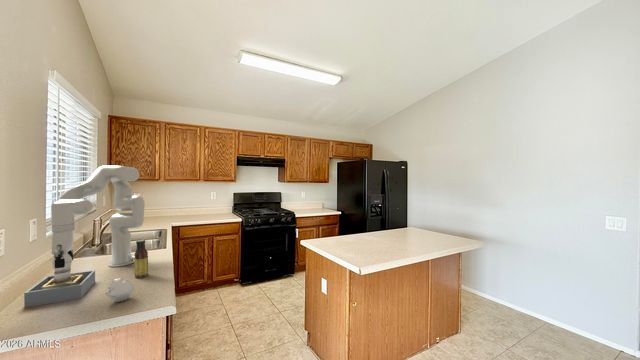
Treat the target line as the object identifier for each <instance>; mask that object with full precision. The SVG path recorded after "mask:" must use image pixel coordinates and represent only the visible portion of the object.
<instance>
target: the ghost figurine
mask: <svg viewBox="0 0 640 360" xmlns="http://www.w3.org/2000/svg"><path fill="white" fill-rule="evenodd" d="M134 287H135V286H134V284H133V282H131V281H130V280H128V279H127V280H126V279H123V278H122V277H120V278H119V277H118V278H115V279H114V280H112V282H111V283H110V284H109V285H108V286H107V289H108V290H107V291H106V292H105V295H106V297H109V298H110V299H111V301H113V302H119V303H120V302H124V301H126V300H128V299H129V298H130V297H131V296H132V294H133V293H134V290H135V288H134Z"/></svg>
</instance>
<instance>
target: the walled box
mask: <svg viewBox="0 0 640 360" xmlns="http://www.w3.org/2000/svg"><path fill="white" fill-rule="evenodd" d="M82 274H83V281H82V282H81V284H79V285H72V286H65V287H58V288H51V289H44V290H41V287H42V286H44V285H45V284H46V283H47V282H49V281H50V280H51V279H53V278H54V275H47V276H45V278H42V279H41V280H40V281H39V282H37V283H36V284H35V285H33V286H32V287H30V288H29V289H28V290H26V291H25V292H23V293H24V295H23V300H24V308H29V307H28V306H30V307H34V306H42V305H48V304H54V303H60V302H64V301H72V300H78V299H82V298H83V297H84V295H86V294H87V292H88V291H89V290H90V289H91V288H92V286H93V285H94V284H95V283H96V270H94V269H93V270H88V271H79V272H71V276H75V275H82Z"/></svg>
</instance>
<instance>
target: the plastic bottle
mask: <svg viewBox="0 0 640 360" xmlns="http://www.w3.org/2000/svg"><path fill="white" fill-rule="evenodd" d="M60 255H61V256H62V254H60ZM64 258H65V267H63V268H55V260H54V258H53V259H52V260H51V265H52V269H53V276H54V283H53V285H56V284H63V283H70V282H72V280H71V273H72V272H71V269H72V268H71V267H72V262H73V260H72V257H71V256H70V255H69V254H68V253H65V254H64Z"/></svg>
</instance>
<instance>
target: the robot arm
mask: <svg viewBox="0 0 640 360" xmlns="http://www.w3.org/2000/svg"><path fill="white" fill-rule="evenodd" d="M139 177H140V172H139V170H138V169H137V168H136V167H131V166H123V165H101V166H99V167H98V168H97V169H95V170H94V172H93V173H92V174H91V175H90V176H89V178H88V179H86V181H85V182H83V183H80V184H78V185H75V186H74V187H71V188H70V189H68V190H66V191H65V192H64V193H62V195H61V196H59V198H57V200H56V201H54V202H52V203H51V204H50V207H51V208H50V212H51V215H50V216H51V217H50V218H51V233H52V238H51V255H54V256H53V257H54V258H53V259H54V260H55V268H63V267H65V258H64V254H65V253H68V254H69V255H70V256H71V257H72V261H74V232H73V231H75V230H76V229H75V216H77V215H86V214H88V213H90V212H92V209H93V207H94V205H93V202H91V201H90V200H88V199H85V198H87V197H91V196H95V195H97V194H99V193H102V192H103V191H104V190H105V188H106V187H107V186H108V185H109V183H110V182H111V184H112V185H113V188H114V196H113V197H114V198H113V208H114V209H115V210H116V211H120V212H118V213H114V214H112V215H111V216H110V217H109V219H108V220H109V222H108V223H109V226H110V232H111V233H110V234H111V261H110V262H108V267H111V268H117V267H119V268H120V267H125V266H128V265H131V264H133V263H134V255H133V254H132V242H131V241H132V240H131V239H132V235H131V231H130V229H140V227H142V226H143V223H144V219H145V207H146V206H145V200H144V198H143V197H142V196H140V195H132V185H131V184H130V183H129V182H136V181H137V180H138V179H139ZM130 211H131V212H130ZM60 254H62V256H61V255H60Z"/></svg>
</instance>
